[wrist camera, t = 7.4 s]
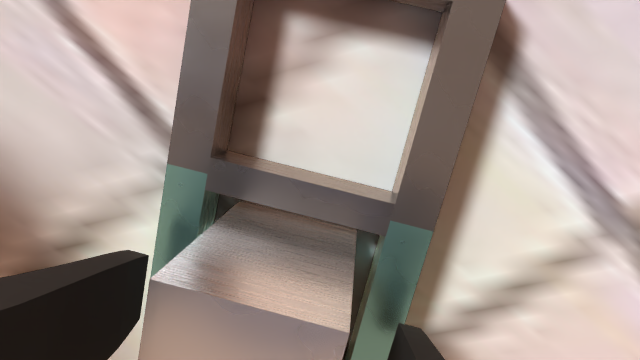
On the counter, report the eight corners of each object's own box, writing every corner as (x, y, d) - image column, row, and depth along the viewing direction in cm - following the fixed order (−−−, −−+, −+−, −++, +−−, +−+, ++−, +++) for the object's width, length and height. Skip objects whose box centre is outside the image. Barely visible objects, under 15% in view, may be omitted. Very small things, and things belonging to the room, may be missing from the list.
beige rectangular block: (221, 304, 15) (125, 443, 9) (241, 199, 14) (150, 279, 8) (329, 334, 15) (303, 495, 9) (356, 229, 14) (349, 333, 8)
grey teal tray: (159, 337, 15) (137, 363, 14) (224, -75, 12) (205, -98, 11) (370, 396, 15) (371, 430, 13) (496, -16, 12) (515, -30, 10)
